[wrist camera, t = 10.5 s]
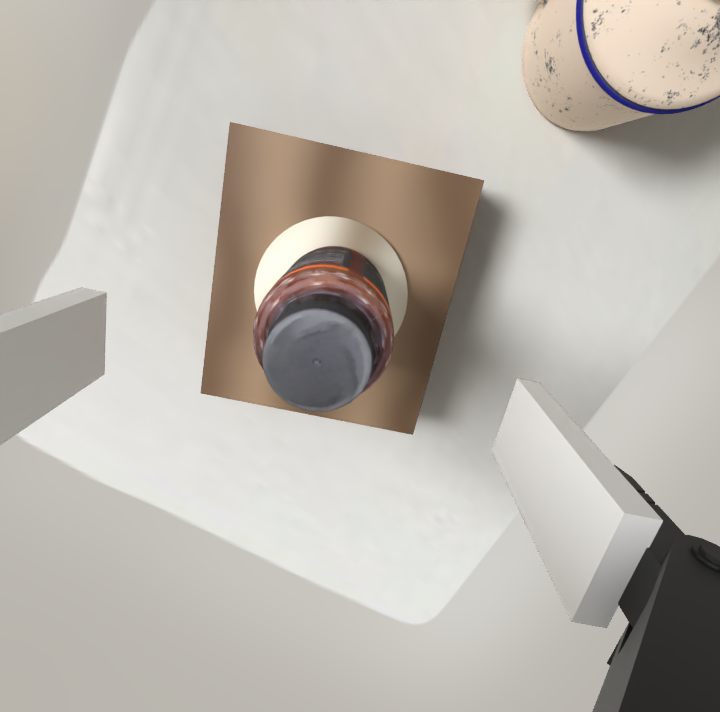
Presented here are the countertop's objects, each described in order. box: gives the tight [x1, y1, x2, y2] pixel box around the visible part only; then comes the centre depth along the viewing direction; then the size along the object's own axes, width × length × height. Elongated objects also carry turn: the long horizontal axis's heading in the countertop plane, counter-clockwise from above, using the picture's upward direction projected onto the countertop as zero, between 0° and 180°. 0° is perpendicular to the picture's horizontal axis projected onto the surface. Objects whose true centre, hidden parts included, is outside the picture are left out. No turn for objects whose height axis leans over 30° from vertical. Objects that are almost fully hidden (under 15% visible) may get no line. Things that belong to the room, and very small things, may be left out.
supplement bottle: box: [253, 246, 394, 412], centre depth 22 cm, size 6×6×11 cm
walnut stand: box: [201, 122, 484, 435], centre depth 30 cm, size 14×16×5 cm
